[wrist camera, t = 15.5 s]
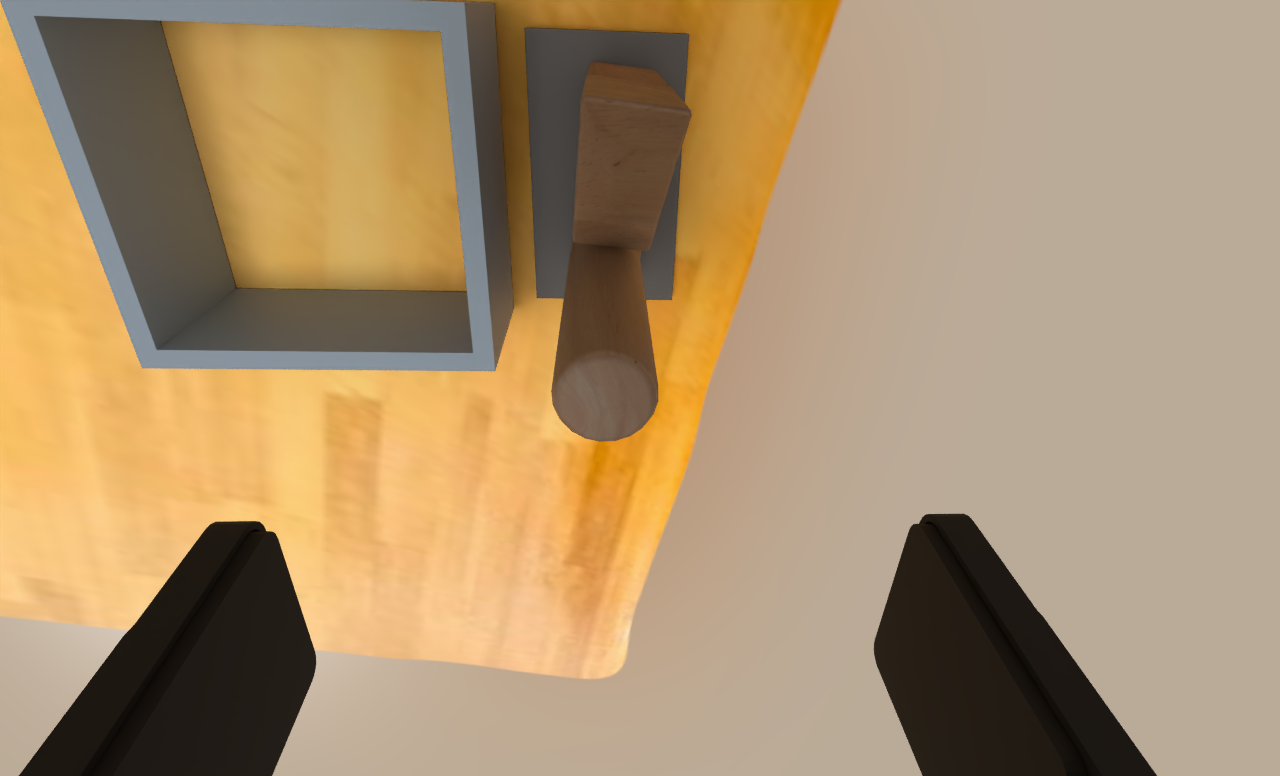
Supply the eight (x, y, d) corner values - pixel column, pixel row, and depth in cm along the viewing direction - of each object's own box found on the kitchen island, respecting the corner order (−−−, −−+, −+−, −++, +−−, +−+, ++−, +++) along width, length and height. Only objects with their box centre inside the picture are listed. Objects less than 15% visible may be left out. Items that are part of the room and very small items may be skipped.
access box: (128, -13, 31) (-7, -17, 24) (494, 3, 32) (464, 2, 25) (223, 303, 39) (141, 368, 32) (513, 308, 40) (495, 371, 33)
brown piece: (660, 70, 33) (710, 127, 18) (633, 272, 39) (653, 454, 23) (587, 59, 33) (573, 109, 17) (569, 265, 38) (546, 445, 23)
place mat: (526, 27, 33) (524, 27, 32) (687, 33, 33) (688, 34, 33) (537, 292, 40) (536, 297, 39) (670, 294, 40) (671, 300, 40)
